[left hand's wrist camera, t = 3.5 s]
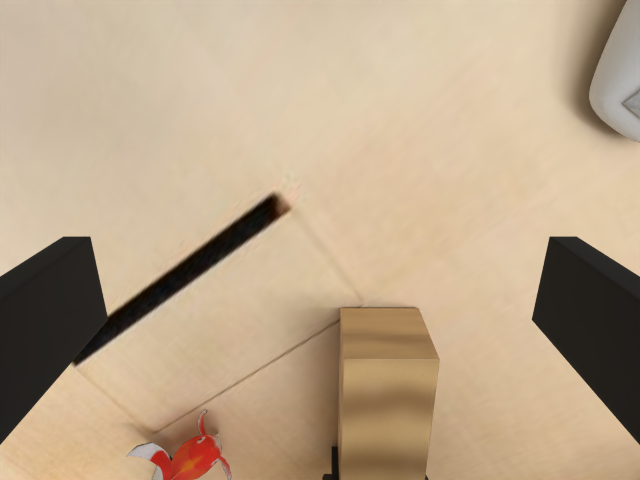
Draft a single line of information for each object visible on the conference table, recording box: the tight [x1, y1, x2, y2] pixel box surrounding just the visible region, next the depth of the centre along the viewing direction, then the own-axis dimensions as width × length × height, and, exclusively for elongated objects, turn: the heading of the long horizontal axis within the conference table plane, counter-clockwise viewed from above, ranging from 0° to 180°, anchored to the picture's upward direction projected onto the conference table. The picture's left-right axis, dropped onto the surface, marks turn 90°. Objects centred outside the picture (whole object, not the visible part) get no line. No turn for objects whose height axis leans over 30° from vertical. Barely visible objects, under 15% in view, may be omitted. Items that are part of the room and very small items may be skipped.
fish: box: [127, 410, 231, 480], centre depth 50 cm, size 11×16×10 cm
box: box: [338, 308, 440, 480], centre depth 46 cm, size 25×9×9 cm, turn 0°
